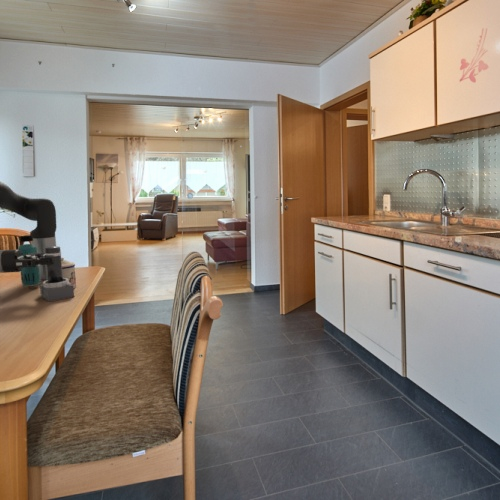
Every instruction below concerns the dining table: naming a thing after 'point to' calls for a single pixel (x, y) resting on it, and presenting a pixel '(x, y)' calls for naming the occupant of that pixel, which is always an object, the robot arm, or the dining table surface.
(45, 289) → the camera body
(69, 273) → the teacup with lid
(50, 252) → the lens
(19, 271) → the robot arm
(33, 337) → the dining table surface
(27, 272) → the beverage bottle
